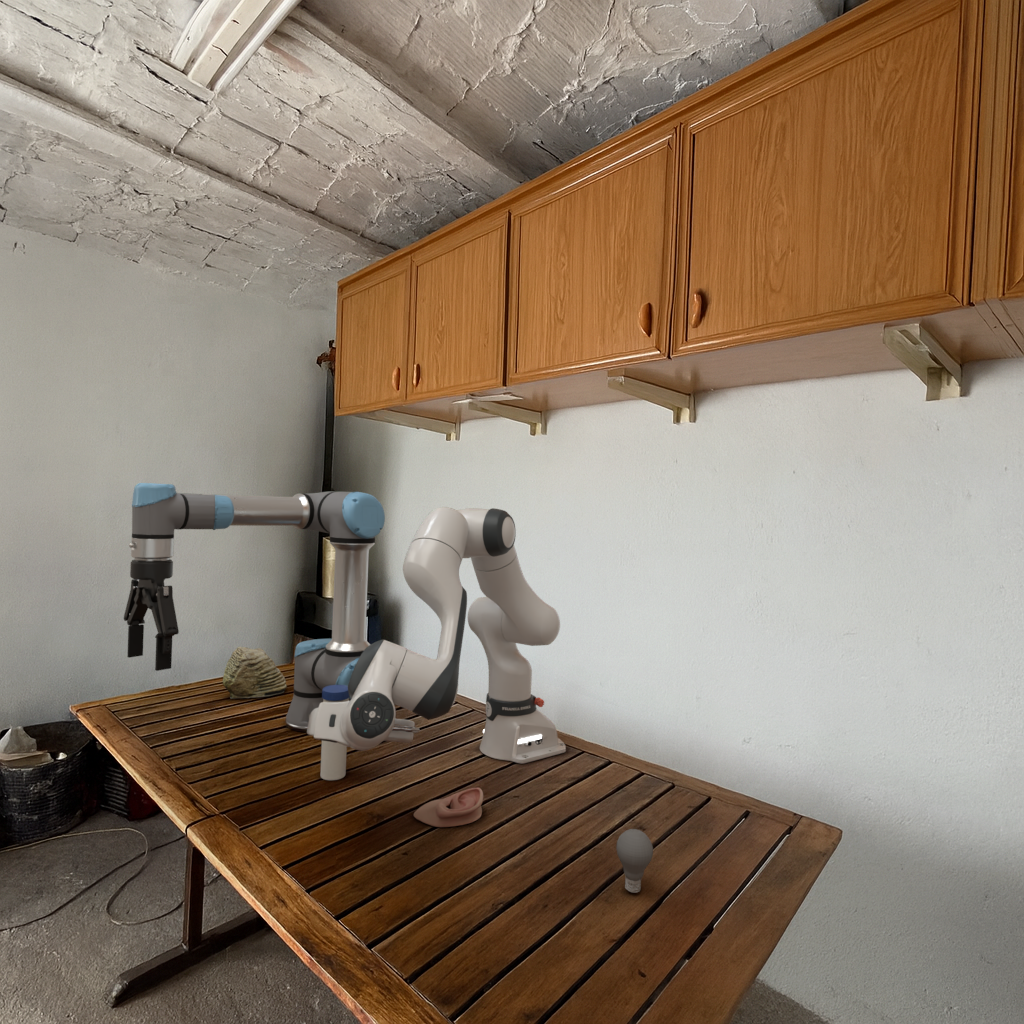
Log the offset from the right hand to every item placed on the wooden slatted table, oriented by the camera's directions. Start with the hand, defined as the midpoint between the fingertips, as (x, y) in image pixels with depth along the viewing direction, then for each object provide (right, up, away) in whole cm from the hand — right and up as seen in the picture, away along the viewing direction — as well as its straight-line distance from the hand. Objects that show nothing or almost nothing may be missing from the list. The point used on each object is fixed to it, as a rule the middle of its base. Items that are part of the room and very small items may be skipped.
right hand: (359, 731), depth 128 cm
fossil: (-50, -13, +70) cm, 87 cm away
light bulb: (+51, -19, -22) cm, 59 cm away
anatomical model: (+18, -17, +1) cm, 25 cm away
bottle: (-10, -16, +16) cm, 25 cm away
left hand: (-43, +14, +1) cm, 45 cm away
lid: (-9, +4, +16) cm, 19 cm away
